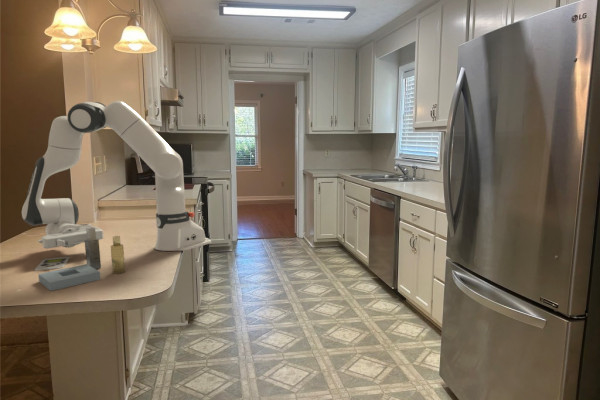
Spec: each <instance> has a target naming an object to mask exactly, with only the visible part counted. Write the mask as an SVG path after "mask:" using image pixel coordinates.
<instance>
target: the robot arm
mask: <svg viewBox="0 0 600 400" xmlns="http://www.w3.org/2000/svg"><path fill="white" fill-rule="evenodd" d="M50 126H51V127H50V129H49V130H50V131H49V134H48V144H47V150H46V151H45V153H44V155H42V156H41V157H39V158H38V159H37V160H36V162H35V165H34V168H33V171H32V175H31V178H30V182H29V186H28V189H27V194H26V198H25V200H24V202H23V205H22V209H21V218H22V220H23V221H24V222H25V223H27V224H28V225H29V226H32V227H34V226H40V225H46V226H45V229H44V230H45V234H46V235H43V236H42V237H41V239H38V241H37V242H38V243H39V244H42V247H43V248H44V249H53V248H58V247H63V248H67V249H68V248H70V249H71V248H73V247H75V246H78V245H80V244H83V243H84V244H85V240H86V239H87V235H86V228H90V227H94V228H95V232H96V239H99V241H100V240H103V239H104V230H103V229H101V228H100V227H98V226H97V227H96V226H93V225H92V224H90V223H89V224H88V223H86V224H85V223H84V224H82V223H81V224H77V223H78V221H79V216H80V215H79V214H80V213H79V207H78V205H77V204H76V202H74V200H73V199H72V198H69V197H66V198H65V197H62V198H60V197H58V198H42V195H43V192H44V187H45V184H46V181H47V179H49V177H51V176H52V175H54V174H57V173H60V172H63V171H67V170H70V169H71V168H73V167H74V166H76V165H77V164H78V163H79V161H80V158H81V157H82V147H83V137H84V135H85V134H89V133H95V132H98V131H100V130H103V129H105V128H107V127H108V128H109V129H111V130H112V131H114V132H115V134H117V135H118V136H119V137H120V138H121V139H122V140H123V141H124V142H125V143H126V144H127V145H128V146H129V148H131V149H132V151H134V152H135V153H136V154H137V155H138V156H139V157H140V158H141V160H142V161H144V163H145V164H146V165H147V166H148V167H149V169H151V170H152V171H153V172H154V179H155V180H154V182H155V183H154V184H155V201H156V202H155V205H156V214H155V222H156V230H157V232H156V241H155V246H154V249H155V250H157V251H162V252H167V251H168V252H171V251H174V252H175V251H180V252H182V251H188V250H192V249H196V248H198V247H199V248H200V247H203V246H205V245H209V244H211V243H212V241H211V239H210V238H208V237H206V234H205V230H204V229H203V227H202V226H200V225H199V224H197V223H196V222H194V221H193V220H191V218H194V217H195V216H196V215H195V212H191V211H190V212H188V211H187V210H186V197H185V193H186V191H185V182H184V181H185V180H184V179H185V178H184V177H185V176H184V162H183V158H182V157H181V155H180V154H179V153H178V152H177V151H175V150H174V149H173V148H172V147H171V146H170V145H169V144H168V142H166V140H165V139H164V138H163V137H162V136H161V135H160V134H159V133H158V132H157V131H156V130H155V129H154V128H153V127H152V126H151V125H150V124H149V123H148V121H146V119H144V118H143V117H142V116H141V114H140V113H138V112H137V111H136V110H134V108H132V107H131V106H129V104H127V103H125V102H124V101H121V100H115V101H112V102H110V103H109V104H108V105H105V104H104V103H102V102H99V101H85V102H80V103H76V104H74V105H73V106H71V108H70V109H69V111H68V113H67V115H61V116H58V117H55V118H54V119H53V120H52V122H51V125H50Z"/></svg>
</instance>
